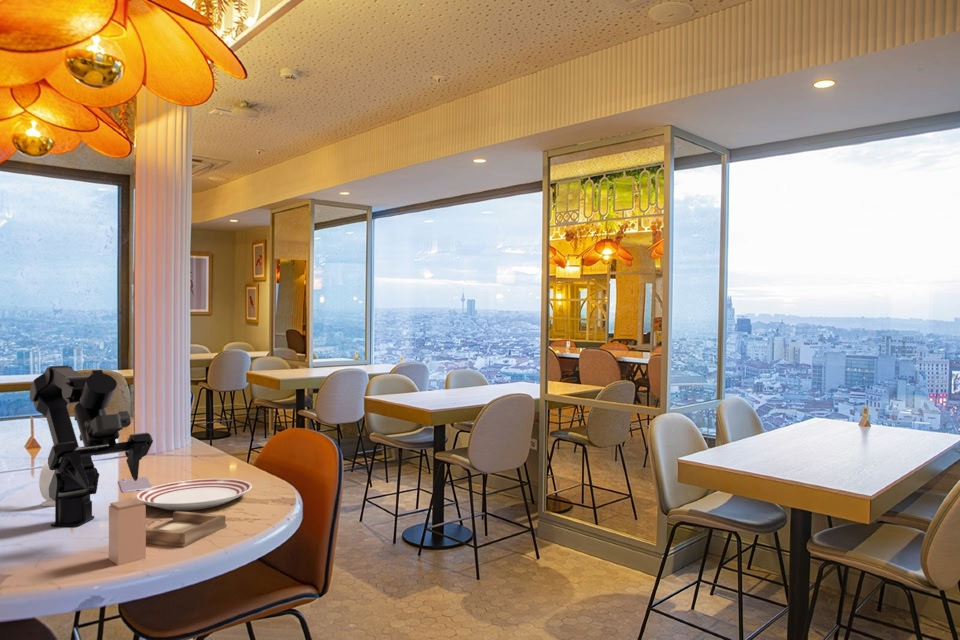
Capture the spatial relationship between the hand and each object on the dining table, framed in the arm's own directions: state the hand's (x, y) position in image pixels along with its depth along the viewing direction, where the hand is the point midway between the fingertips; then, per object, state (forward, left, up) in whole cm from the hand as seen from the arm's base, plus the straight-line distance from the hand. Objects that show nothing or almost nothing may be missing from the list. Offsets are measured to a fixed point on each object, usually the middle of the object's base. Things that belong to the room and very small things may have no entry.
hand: (112, 483), depth 135 cm
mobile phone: (-23, +51, -14) cm, 57 cm away
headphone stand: (-33, +32, -14) cm, 48 cm away
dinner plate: (+1, +36, -14) cm, 38 cm away
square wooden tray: (+9, +10, -13) cm, 19 cm away
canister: (+6, -5, -13) cm, 16 cm away
